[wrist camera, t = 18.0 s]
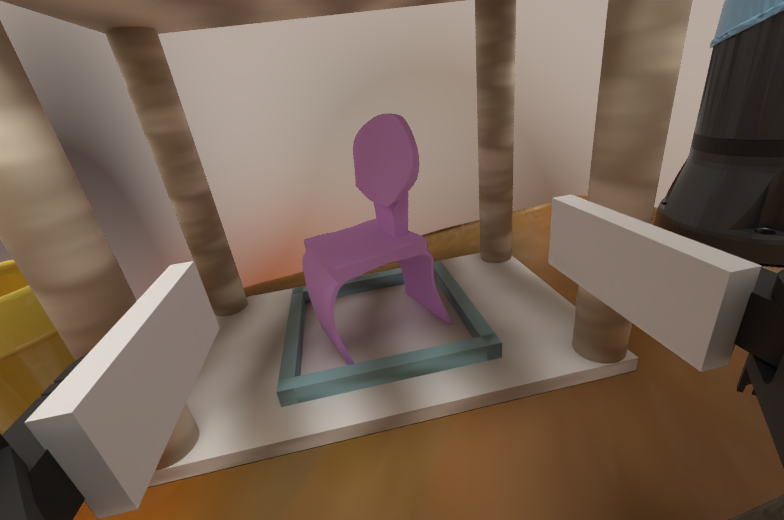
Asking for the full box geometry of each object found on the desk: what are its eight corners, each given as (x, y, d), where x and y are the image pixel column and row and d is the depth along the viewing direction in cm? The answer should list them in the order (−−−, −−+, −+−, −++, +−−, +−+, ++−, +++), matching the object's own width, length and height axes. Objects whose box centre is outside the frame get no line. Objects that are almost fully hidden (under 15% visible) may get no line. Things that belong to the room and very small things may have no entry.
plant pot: (14, 377, 30) (-63, 270, 25) (154, 341, 32) (103, 238, 28) (-98, 497, 20) (-247, 361, 16) (108, 434, 23) (24, 301, 19)
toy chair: (311, 323, 30) (261, 130, 23) (403, 287, 33) (381, 111, 27) (351, 383, 23) (295, 134, 17) (461, 330, 26) (450, 108, 20)
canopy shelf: (503, 256, 38) (505, -36, 28) (635, 370, 22) (758, -224, 12) (222, 311, 35) (106, 4, 25) (137, 489, 19) (-300, -181, 9)
